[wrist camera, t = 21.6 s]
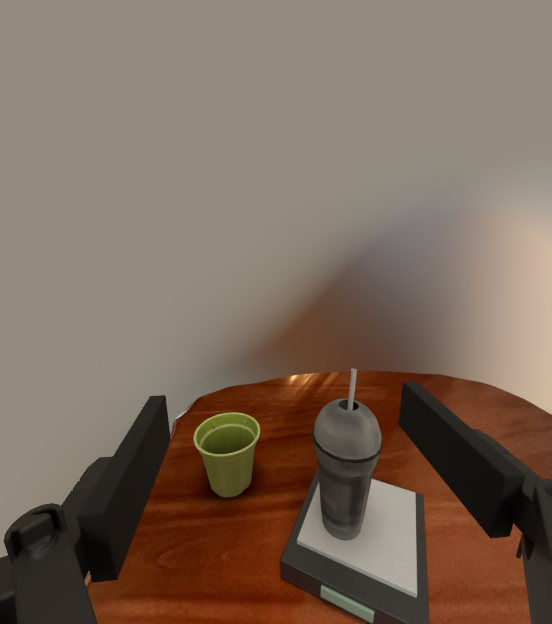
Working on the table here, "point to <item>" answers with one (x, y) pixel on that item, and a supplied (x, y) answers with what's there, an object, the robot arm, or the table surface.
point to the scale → (365, 557)
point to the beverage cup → (345, 462)
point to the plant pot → (228, 451)
